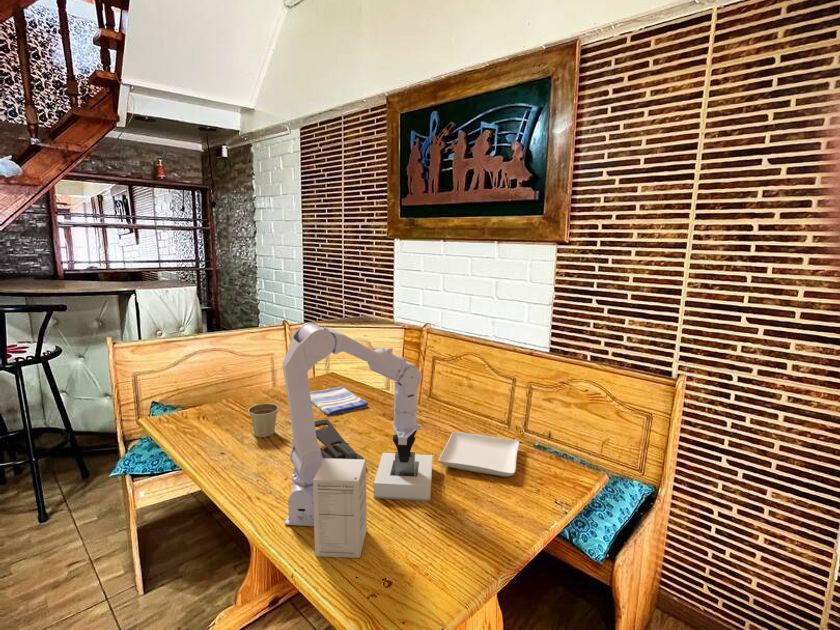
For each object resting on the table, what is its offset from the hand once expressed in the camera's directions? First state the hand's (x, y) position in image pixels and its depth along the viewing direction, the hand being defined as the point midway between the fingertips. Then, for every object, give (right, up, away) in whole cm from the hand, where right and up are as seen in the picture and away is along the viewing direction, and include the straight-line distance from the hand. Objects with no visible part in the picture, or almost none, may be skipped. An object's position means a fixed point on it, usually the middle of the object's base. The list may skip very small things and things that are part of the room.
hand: (404, 458), depth 115 cm
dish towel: (-29, +2, +60) cm, 67 cm away
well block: (0, -7, +3) cm, 8 cm away
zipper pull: (-21, -5, +17) cm, 28 cm away
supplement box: (-12, -11, -21) cm, 27 cm away
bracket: (0, -6, +2) cm, 7 cm away
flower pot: (-47, -2, +30) cm, 55 cm away
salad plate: (+22, -6, +17) cm, 28 cm away
